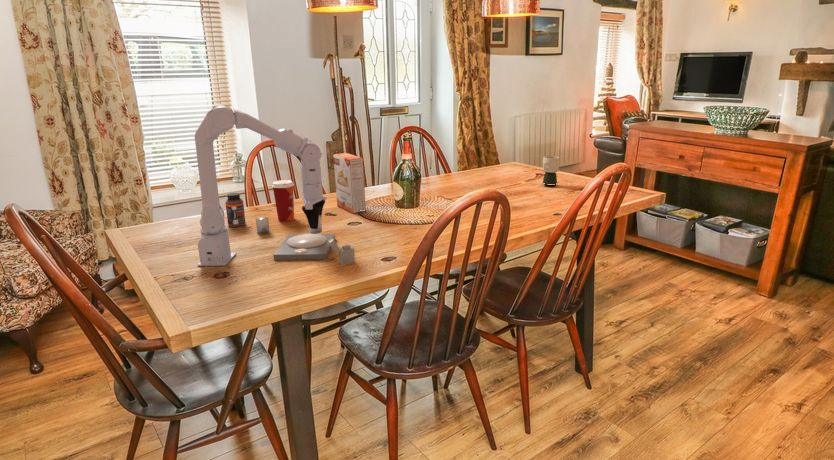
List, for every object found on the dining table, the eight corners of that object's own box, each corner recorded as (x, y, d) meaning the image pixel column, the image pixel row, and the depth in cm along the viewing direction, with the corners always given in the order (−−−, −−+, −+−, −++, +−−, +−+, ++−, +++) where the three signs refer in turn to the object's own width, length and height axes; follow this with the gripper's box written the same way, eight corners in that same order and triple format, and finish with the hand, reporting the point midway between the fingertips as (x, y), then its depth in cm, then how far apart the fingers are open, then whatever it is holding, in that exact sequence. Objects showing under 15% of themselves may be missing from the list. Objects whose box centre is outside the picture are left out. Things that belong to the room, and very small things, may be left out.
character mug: (549, 182, 239) (551, 154, 235) (563, 185, 234) (565, 156, 230) (535, 186, 232) (537, 157, 228) (549, 189, 227) (551, 159, 223)
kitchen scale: (325, 259, 150) (324, 252, 150) (273, 259, 151) (273, 252, 150) (335, 239, 168) (334, 232, 167) (288, 239, 168) (288, 233, 167)
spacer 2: (319, 233, 157) (318, 218, 156) (307, 233, 158) (305, 217, 156) (323, 229, 161) (322, 214, 160) (311, 229, 162) (309, 214, 160)
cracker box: (336, 206, 206) (332, 153, 199) (349, 204, 209) (346, 152, 203) (352, 214, 195) (348, 158, 188) (366, 211, 198) (363, 157, 191)
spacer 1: (267, 234, 174) (266, 219, 172) (255, 234, 174) (254, 220, 172) (271, 230, 177) (269, 216, 176) (259, 230, 177) (257, 216, 176)
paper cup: (298, 221, 188) (295, 183, 183) (276, 223, 185) (272, 185, 181) (295, 215, 195) (291, 178, 190) (274, 217, 192) (270, 180, 188)
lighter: (352, 260, 149) (350, 234, 147) (355, 262, 148) (353, 235, 145) (329, 266, 145) (327, 239, 143) (332, 267, 144) (330, 240, 142)
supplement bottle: (240, 227, 181) (236, 196, 177) (224, 227, 182) (220, 195, 179) (249, 222, 186) (245, 192, 183) (233, 222, 188) (229, 191, 184)
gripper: (321, 188, 148) (324, 233, 152) (329, 177, 162) (332, 219, 166) (296, 188, 148) (300, 233, 152) (306, 177, 162) (310, 219, 166)
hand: (315, 226), depth 159 cm, fingers closed on spacer 2, 4 cm apart
